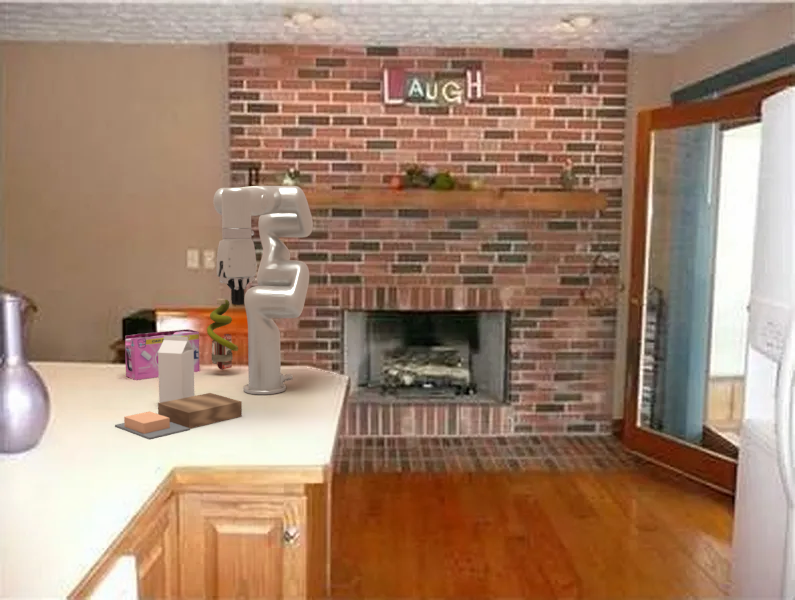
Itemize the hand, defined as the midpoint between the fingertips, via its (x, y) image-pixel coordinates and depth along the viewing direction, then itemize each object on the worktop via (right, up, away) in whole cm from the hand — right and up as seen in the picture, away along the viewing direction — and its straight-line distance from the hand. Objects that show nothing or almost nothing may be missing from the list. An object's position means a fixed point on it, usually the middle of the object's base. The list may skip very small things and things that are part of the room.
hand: (237, 304), depth 204 cm
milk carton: (-19, -28, +11) cm, 36 cm away
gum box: (-35, -24, +50) cm, 65 cm away
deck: (-9, -30, -4) cm, 31 cm away
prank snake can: (-15, -24, +51) cm, 58 cm away
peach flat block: (-19, -28, -15) cm, 37 cm away
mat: (-18, -31, -14) cm, 38 cm away
